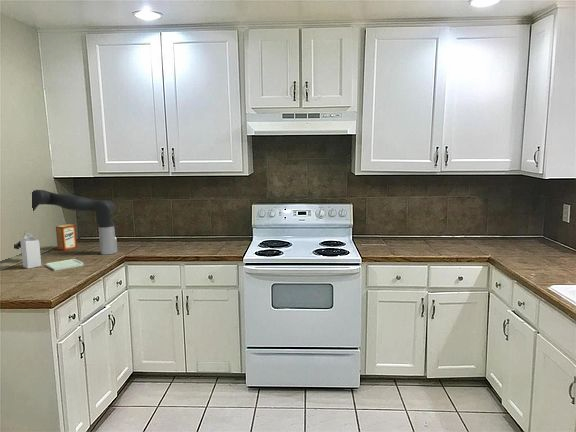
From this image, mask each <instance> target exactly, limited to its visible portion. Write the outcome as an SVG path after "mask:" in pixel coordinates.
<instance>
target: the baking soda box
mask: <svg viewBox="0 0 576 432" xmlns="http://www.w3.org/2000/svg"><path fill="white" fill-rule="evenodd" d="M55 230H56V231H55V232H56V243H57V250H58V251H59V250H60V251H67V250H72V249H77V247H78V243H77V232H76V224H72V223H71V224H70V223H69V224H63V225H62V224H61V225H56V226H55Z"/></svg>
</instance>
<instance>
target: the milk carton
mask: <svg viewBox="0 0 576 432" xmlns="http://www.w3.org/2000/svg"><path fill="white" fill-rule="evenodd" d="M20 242H21V258H22V259H21V260H22V268H25V269H28V270H29V269H33V268H38V267H42V259H41V258H42V257H41V249H40V248H41V247H40V240H39V239H37V238H35V236H33V234H31V233H27V232H26V235H25V236H23V239H22V240H21V241H20Z"/></svg>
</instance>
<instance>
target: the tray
mask: <svg viewBox="0 0 576 432" xmlns="http://www.w3.org/2000/svg"><path fill="white" fill-rule="evenodd" d="M84 266H85V262H83V261H81V260H78V259H76V258H73V259H72V258H70V259H65V260H59V261H54V262H47V263H45V267H46V268H49V269H50V270H52V271H54V272H55V271H61V270H67V269H72V268H77V267H84Z"/></svg>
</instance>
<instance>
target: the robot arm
mask: <svg viewBox="0 0 576 432" xmlns="http://www.w3.org/2000/svg"><path fill="white" fill-rule="evenodd" d="M32 191H33V192H32ZM32 191H31V192H32V208H33V211H34V212H35V210H36V209H37V208H38V207H39V205H40V206H42V205H44V206H45V205H49V206H58V207H59V208H63V209H66V210H69V211H70V210H72V211H78V212H79V211H80V212H87V211H89V212H95V215H96V216H95V217H96V223H97V224H98V237H99V249H100V251H99V252H100V254H101V255H112V254H117V253H118V243H117V237H116V233H115V232H116V231H115V229H116V228H115V221H113V220H112V214H114V213H115V212H116V204H115V203H114V202H112V201H110V200H102V199H93V198H89V197H83V196H79V195H74V194H64V193H62V194H60V193H54V192H51V191H47V190H44V189H33V190H32ZM19 248H21V242H20V241H19V242H18V243H16V244H14V248H13V249H15V250H19Z"/></svg>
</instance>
